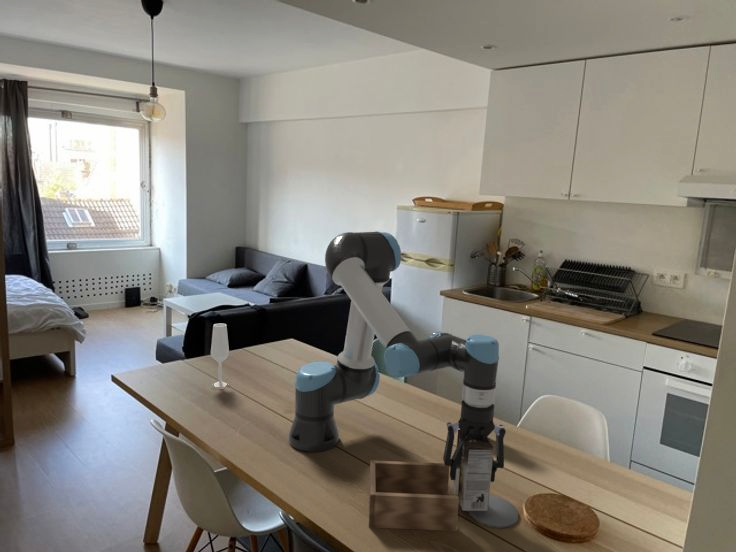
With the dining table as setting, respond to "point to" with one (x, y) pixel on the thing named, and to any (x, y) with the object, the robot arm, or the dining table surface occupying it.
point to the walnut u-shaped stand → (411, 496)
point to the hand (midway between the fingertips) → (470, 492)
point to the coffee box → (474, 474)
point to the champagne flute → (219, 349)
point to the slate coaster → (496, 513)
